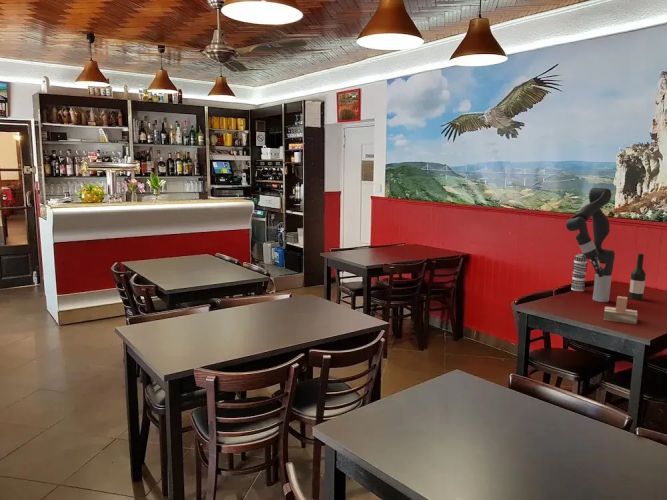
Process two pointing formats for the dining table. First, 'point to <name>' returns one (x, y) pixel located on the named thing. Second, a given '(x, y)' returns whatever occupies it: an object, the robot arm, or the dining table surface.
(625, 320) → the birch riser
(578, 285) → the leaning tower model
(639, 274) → the wine bottle
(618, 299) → the terracotta block
